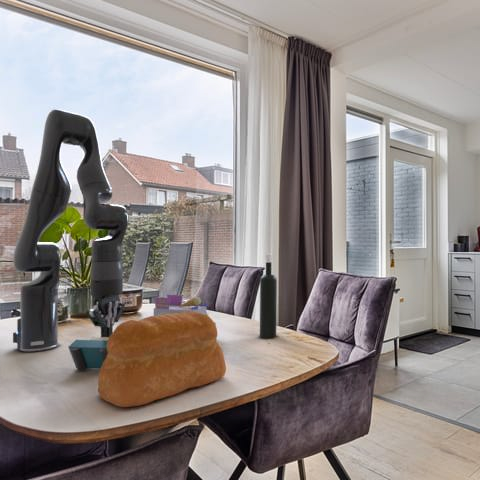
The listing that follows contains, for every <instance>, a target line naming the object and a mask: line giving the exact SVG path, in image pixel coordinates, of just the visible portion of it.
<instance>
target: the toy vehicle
mask: <svg viewBox="0 0 480 480" xmlns="http://www.w3.org/2000/svg"><path fill="white" fill-rule="evenodd" d="M182 299H183V295H182V294H180V295H179V294H167V295H166V297H156V296H155V297H154V308H153V316H157V315H162V314H173V313H182V312H185V311H193V312H198V313H202V314H205V315H207V316H208V312H207V306H208V303H202V304H201V302H202V300H201V299H202V298H200V297H199V296H194V297H192V298H190V299H188V300H189V301H187V302H185V303H184V304H182ZM213 322H214V323H215V325H216V326H217V323H216V322H215V321H213Z"/></svg>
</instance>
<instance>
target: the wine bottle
mask: <svg viewBox="0 0 480 480" xmlns="http://www.w3.org/2000/svg"><path fill="white" fill-rule="evenodd" d="M272 263H273V253H272V252H265V274H263V275H262V276H260V279H259V282H260V283H259V338H260V339H265V340H268V339H275V338H276V337H277V306H278V305H277V302H278V301H277V297H278V292H277V291H278V287H277V286H278V278H277V277H276V276H275V275H274V274H272V266H273V265H272Z"/></svg>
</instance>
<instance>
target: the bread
mask: <svg viewBox="0 0 480 480" xmlns="http://www.w3.org/2000/svg"><path fill="white" fill-rule="evenodd" d="M214 322H215V321H214V320H213V319H212V318H211V317H210V316H209V315H208V314H207V315H205V314H202V313H198V312H193V311H185V312H182V313H173V314H162V315H157V316H154V315H150V316H146V317H144V318H141V319H139V320H136V319H135V320H134V319H129V320H126V321H122V323H119V324H118V325H117V326H116V327H115V328H114V329H113V331H112V332H113V333H112V334H111V336H110V337H109V339H108V342H107V351H108V355H107V357H106V359H105V361H104V362H103V364H102V367H101V369H99V373H98V377H97V378H98V379H97V380H98V381H97V382H98V387H97V392H98V395H99V397H100V398H101V399H103V401H105V402H107V403H110V404H112V405H114V406H116V407H119V408H131V407H137V406H138V407H139V406H143V405H146V404H149V403H152V402H154V401H156V400H161V399H164V398H166V397H172V396H175V395H178V394H180V393H182V392H184V391H186V390H188V389H194V388H198V387H202V386H204V385H208V384H211V383H213V382H215V381H218V380H220V379H222V378H223V377H224V376H225V375H226V372H227V365H226V360H225V355H224V352H223V349H222V347H221V346H220V344H219V342H218V340H217V337H218V328H217V324H216V325H215V323H216V322H215V323H214Z"/></svg>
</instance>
